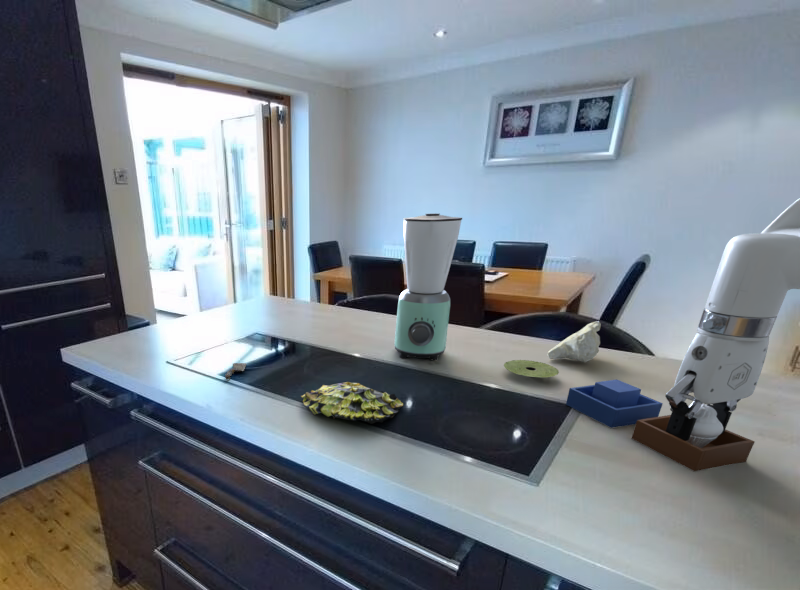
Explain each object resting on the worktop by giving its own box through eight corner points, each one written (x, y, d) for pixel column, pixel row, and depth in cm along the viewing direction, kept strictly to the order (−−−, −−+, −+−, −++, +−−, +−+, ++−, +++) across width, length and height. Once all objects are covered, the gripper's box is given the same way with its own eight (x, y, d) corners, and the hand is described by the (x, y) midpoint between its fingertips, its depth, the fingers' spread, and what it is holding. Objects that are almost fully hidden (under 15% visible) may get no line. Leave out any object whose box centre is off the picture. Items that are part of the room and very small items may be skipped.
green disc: (539, 389, 95) (541, 380, 94) (492, 373, 103) (493, 365, 103) (567, 377, 100) (569, 369, 99) (520, 363, 109) (521, 356, 108)
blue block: (610, 402, 86) (616, 379, 85) (633, 413, 82) (641, 389, 80) (588, 405, 85) (595, 382, 84) (611, 417, 81) (619, 392, 79)
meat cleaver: (253, 365, 112) (236, 364, 114) (253, 361, 112) (235, 359, 114) (231, 380, 102) (212, 379, 104) (231, 376, 102) (212, 374, 103)
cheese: (569, 378, 105) (633, 340, 100) (550, 353, 106) (611, 314, 101) (554, 374, 119) (609, 341, 115) (537, 353, 120) (590, 319, 116)
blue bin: (607, 398, 90) (612, 382, 88) (656, 421, 80) (662, 403, 79) (565, 404, 88) (569, 387, 86) (611, 428, 78) (616, 410, 77)
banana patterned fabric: (282, 413, 88) (283, 381, 88) (328, 406, 101) (329, 377, 100) (371, 427, 76) (372, 389, 75) (411, 416, 88) (412, 384, 88)
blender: (446, 366, 108) (466, 214, 95) (391, 362, 112) (402, 215, 98) (443, 343, 125) (459, 211, 112) (395, 340, 129) (405, 212, 115)
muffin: (671, 449, 70) (686, 409, 67) (660, 431, 75) (672, 394, 72) (722, 456, 67) (739, 416, 64) (706, 437, 72) (721, 399, 70)
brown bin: (678, 430, 77) (684, 412, 76) (746, 461, 68) (755, 441, 66) (631, 438, 75) (637, 419, 74) (694, 471, 66) (702, 451, 64)
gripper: (717, 337, 58) (674, 453, 65) (812, 325, 62) (762, 437, 69) (660, 323, 65) (627, 430, 72) (749, 313, 68) (709, 416, 75)
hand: (694, 432), depth 70 cm, fingers closed on muffin, 6 cm apart
